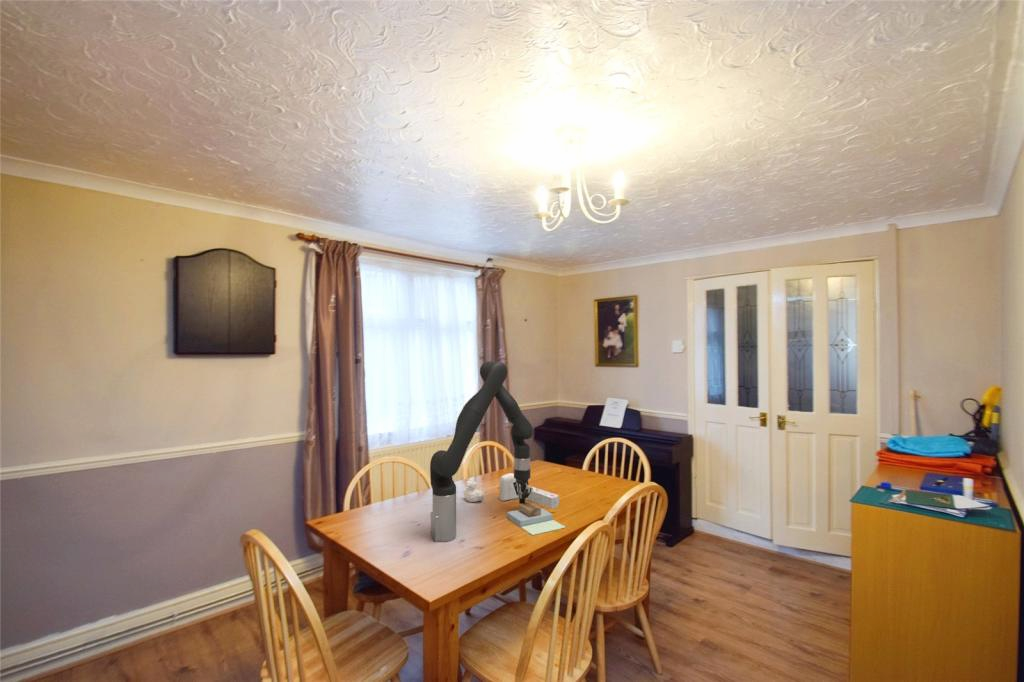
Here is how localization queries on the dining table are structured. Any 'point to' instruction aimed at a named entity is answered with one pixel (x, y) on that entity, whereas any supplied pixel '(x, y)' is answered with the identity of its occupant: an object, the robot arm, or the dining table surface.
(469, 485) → the bust
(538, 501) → the box
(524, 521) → the pale blue flat slab
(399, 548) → the dining table surface
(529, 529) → the mat
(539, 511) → the block
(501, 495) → the photo printer
